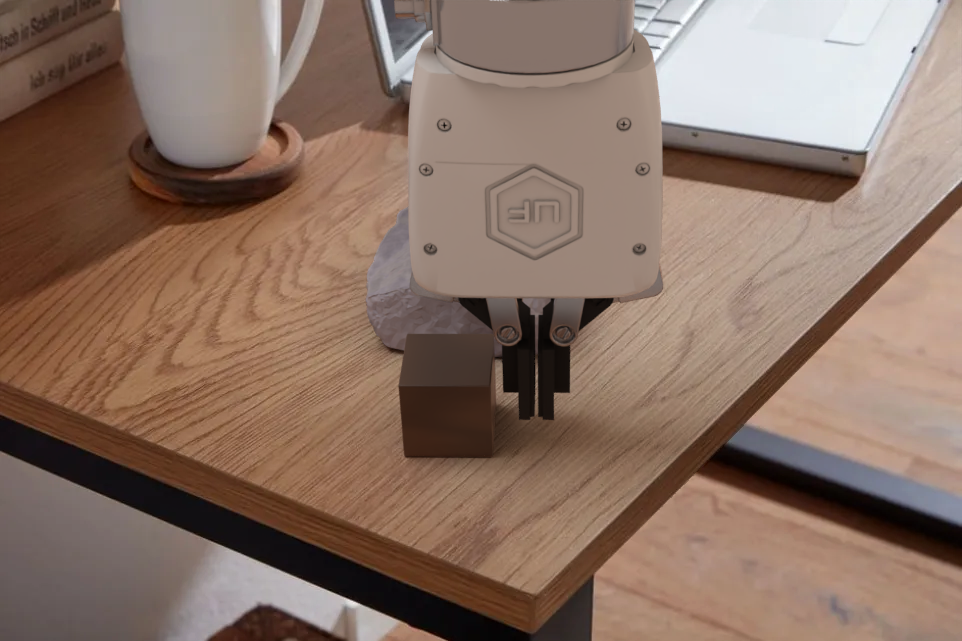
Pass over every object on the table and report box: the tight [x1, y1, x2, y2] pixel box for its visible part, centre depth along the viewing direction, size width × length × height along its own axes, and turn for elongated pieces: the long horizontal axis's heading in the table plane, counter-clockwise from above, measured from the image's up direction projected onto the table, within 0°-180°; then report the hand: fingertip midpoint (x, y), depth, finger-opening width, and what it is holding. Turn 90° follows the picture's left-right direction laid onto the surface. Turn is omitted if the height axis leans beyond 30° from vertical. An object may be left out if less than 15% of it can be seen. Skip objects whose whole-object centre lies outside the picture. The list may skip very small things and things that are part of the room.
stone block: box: [365, 206, 550, 358], centre depth 70 cm, size 12×5×10 cm
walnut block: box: [397, 334, 497, 458], centre depth 60 cm, size 4×4×4 cm
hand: (536, 400), depth 60 cm, fingers closed
